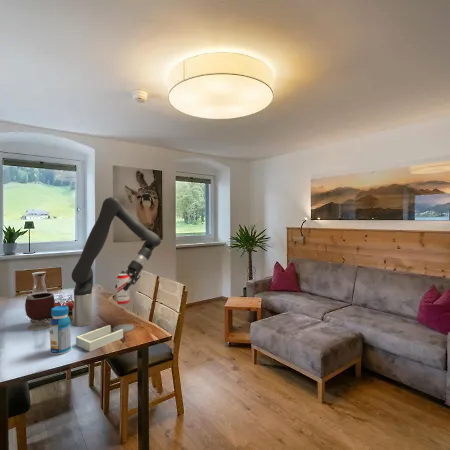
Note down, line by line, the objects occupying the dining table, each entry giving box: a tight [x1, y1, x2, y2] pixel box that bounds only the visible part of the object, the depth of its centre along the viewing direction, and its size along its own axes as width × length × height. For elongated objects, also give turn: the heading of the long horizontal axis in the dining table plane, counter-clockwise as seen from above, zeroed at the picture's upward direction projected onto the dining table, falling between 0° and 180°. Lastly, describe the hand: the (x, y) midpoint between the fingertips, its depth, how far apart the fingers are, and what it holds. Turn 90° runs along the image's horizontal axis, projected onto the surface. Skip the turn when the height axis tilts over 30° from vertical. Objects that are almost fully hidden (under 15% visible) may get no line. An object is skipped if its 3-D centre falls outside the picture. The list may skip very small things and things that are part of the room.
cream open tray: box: [75, 324, 124, 352], centre depth 143 cm, size 18×11×4 cm, turn 146°
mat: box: [112, 323, 135, 334], centre depth 159 cm, size 11×11×1 cm
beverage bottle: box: [49, 305, 72, 356], centre depth 133 cm, size 8×8×20 cm
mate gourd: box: [22, 292, 56, 332], centre depth 162 cm, size 16×14×20 cm
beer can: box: [116, 273, 130, 306], centre depth 158 cm, size 6×6×16 cm
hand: (120, 289), depth 157 cm, fingers closed on beer can, 6 cm apart
